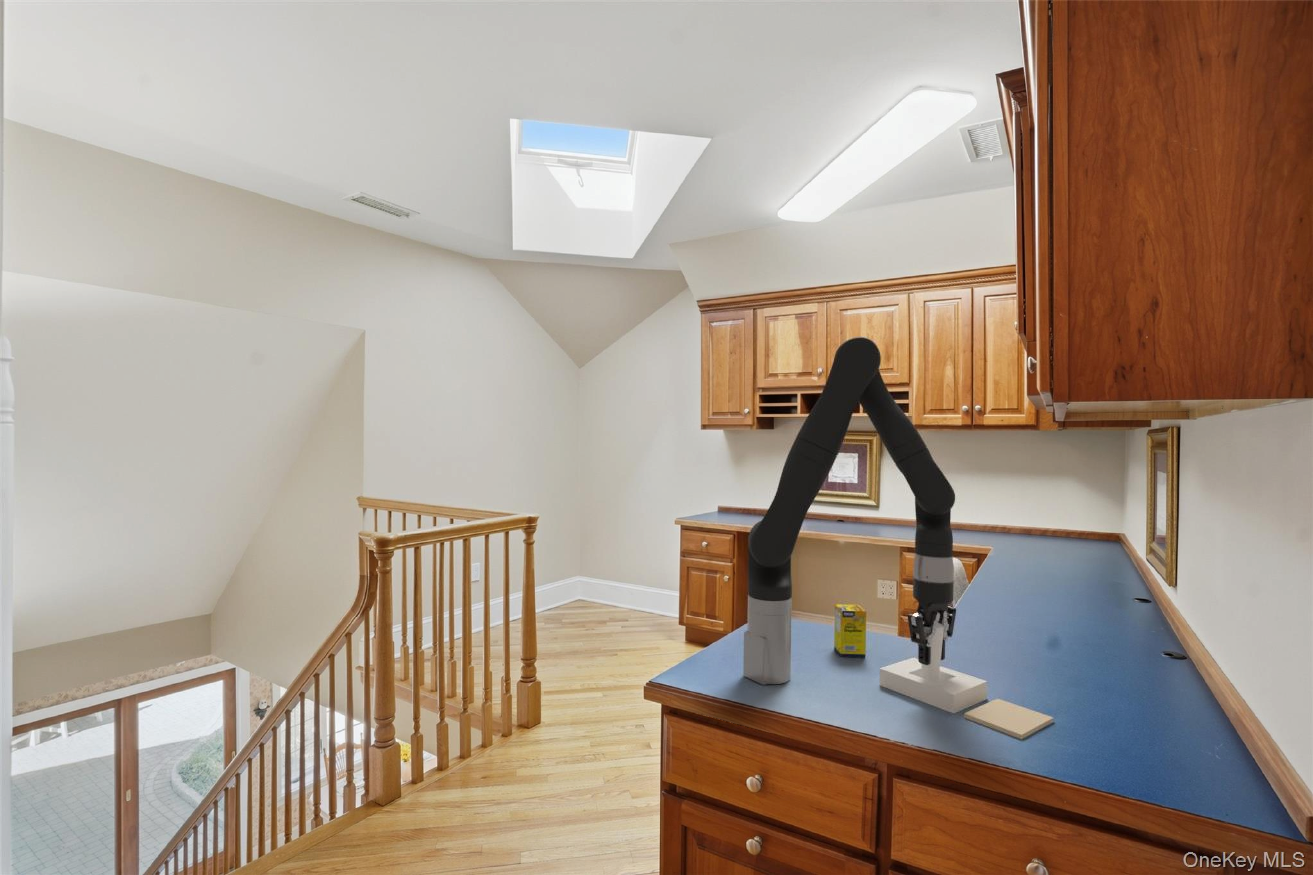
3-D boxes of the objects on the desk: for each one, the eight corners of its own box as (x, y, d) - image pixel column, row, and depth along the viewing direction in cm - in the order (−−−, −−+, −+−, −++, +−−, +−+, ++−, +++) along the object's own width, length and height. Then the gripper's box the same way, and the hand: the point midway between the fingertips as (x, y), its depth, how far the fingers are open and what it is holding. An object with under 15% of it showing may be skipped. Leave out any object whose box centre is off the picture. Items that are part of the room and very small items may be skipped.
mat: (1021, 739, 107) (1021, 734, 107) (964, 717, 115) (964, 713, 115) (1053, 721, 114) (1053, 717, 114) (997, 702, 122) (997, 698, 122)
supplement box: (866, 657, 146) (866, 611, 146) (840, 657, 146) (841, 610, 146) (858, 649, 152) (859, 604, 152) (833, 648, 152) (834, 603, 152)
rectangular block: (953, 713, 117) (954, 694, 117) (879, 685, 130) (879, 668, 130) (986, 698, 124) (987, 681, 124) (913, 673, 137) (913, 657, 137)
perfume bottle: (916, 685, 126) (918, 611, 126) (920, 679, 130) (922, 606, 130) (940, 691, 124) (942, 615, 124) (944, 684, 127) (946, 610, 127)
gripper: (930, 584, 120) (928, 674, 120) (970, 576, 128) (968, 660, 128) (895, 577, 126) (894, 662, 126) (935, 569, 134) (934, 649, 134)
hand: (931, 660), depth 127 cm, fingers closed on perfume bottle, 4 cm apart
